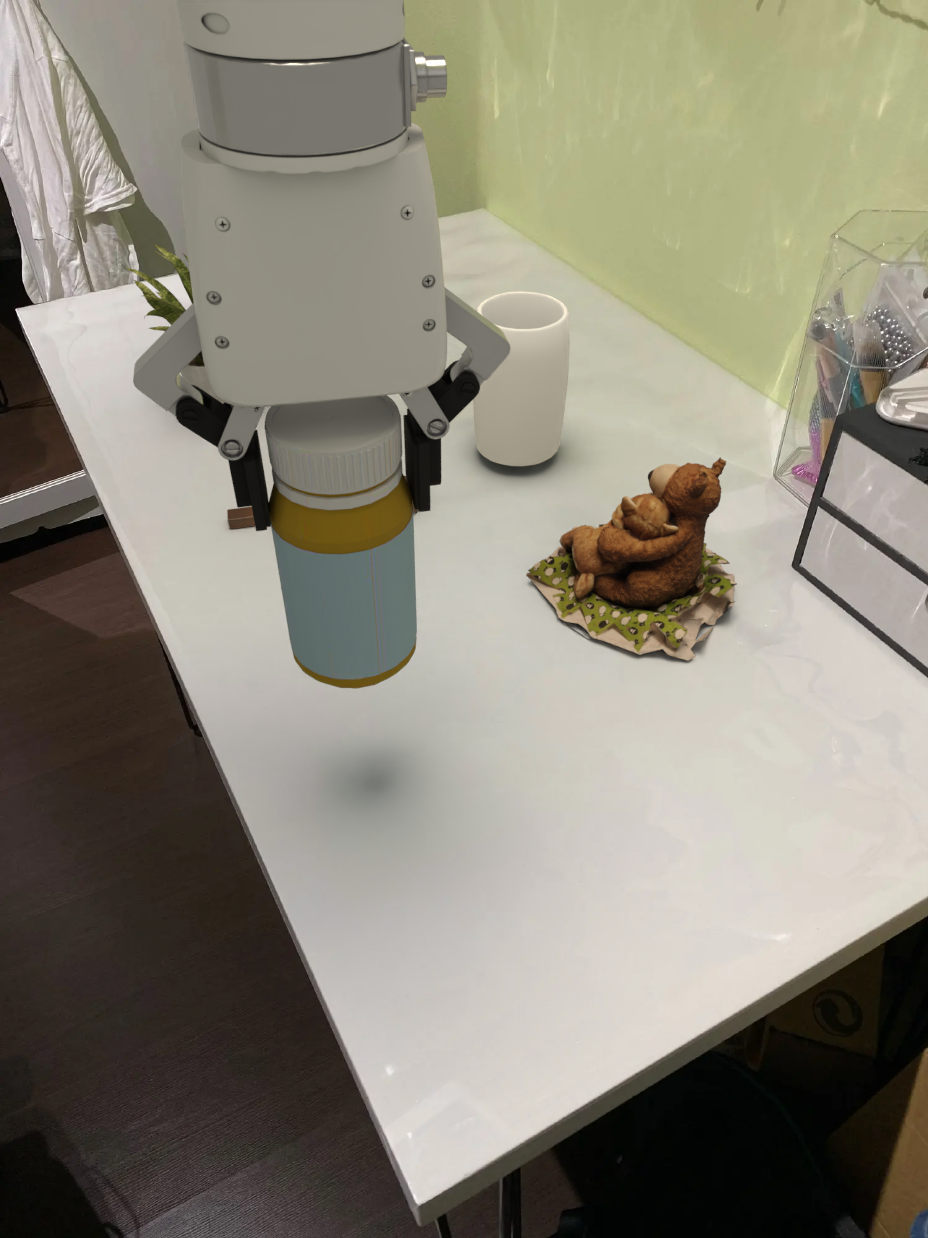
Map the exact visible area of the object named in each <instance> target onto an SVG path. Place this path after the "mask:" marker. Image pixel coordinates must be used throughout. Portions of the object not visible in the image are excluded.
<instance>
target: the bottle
mask: <svg viewBox="0 0 928 1238" xmlns="http://www.w3.org/2000/svg"><path fill="white" fill-rule="evenodd" d="M401 416H402V415H401V413H400V410H399V407H398V404H396V402H395V400H393V399H392V398H391V397H390V395H384V396H375V397H364V398H354V399H344V400H334V401H324V402H313V403H302V404H291V405H279V406H269V408H268V410H267V412H266V413H265V418H264V424H263V425H264V432H265V433H264V434H265V440H266V444H267V445H266V446H267V451H268V458H269V463H270V466H271V475H272V476H271V477H272V481H273V484H272V488H271V492H270V496H269V498H268V502H269V511H270V521H271V527H270V528H271V534H272V540H273V546H274V551H275V560H276V565H277V571H278V576H279V577H278V578H279V582H280V583H279V584H280V589H281V594H282V600H283V601H282V602H283V606H284V607H283V608H284V614H285V619H286V624H287V632H288V638H289V642H290V647H291V650H292V656H293V659H294V661H295V663H296V665H298V667H299V669H301V671H302V672H303V673H304V674H305V675H307V676H309V677H310V678H312V679H313V680H315V681H317V682H319V683H322V684H325V685H329V686H332V687H335V688H339V689H362V688H367V687H372V686H376V685H377V684H380V683H382V682H384V681H386V680H389V679H391V678H392V677H393V676H395V675H397V674H398V673H399V672H401V670H403V669H404V668H405V667H406V666H407V665H408V664H409V662H410V661H411V659H412V657H413V655H414V654H415V652H416V647H417V640H418V639H417V638H418V637H417V634H418V620H417V619H418V617H417V588H416V585H417V584H416V551H415V525H414V524H415V523H414V514H413V503H412V494H411V491H410V488H409V486H408V483H407V481H406V479H405V477H404V476H405V475H404V473H403V460H402V457H403V439H402V438H403V436H402V435H403V431H402V417H401Z"/></svg>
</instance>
